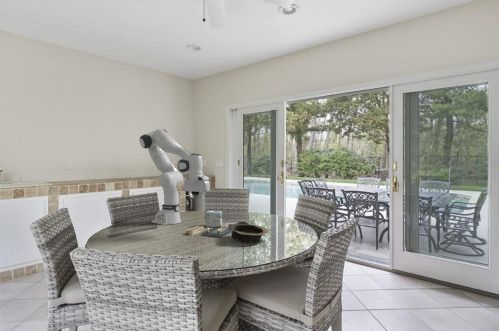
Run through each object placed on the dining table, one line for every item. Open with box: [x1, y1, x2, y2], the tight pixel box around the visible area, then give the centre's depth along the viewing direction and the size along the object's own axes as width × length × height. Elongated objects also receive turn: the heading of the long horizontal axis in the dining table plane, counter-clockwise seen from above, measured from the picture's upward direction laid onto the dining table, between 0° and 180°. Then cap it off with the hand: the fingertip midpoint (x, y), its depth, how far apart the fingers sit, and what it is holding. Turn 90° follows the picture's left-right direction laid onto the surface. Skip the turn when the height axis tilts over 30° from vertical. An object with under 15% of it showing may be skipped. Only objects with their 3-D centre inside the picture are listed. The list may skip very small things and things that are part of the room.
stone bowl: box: [227, 221, 269, 244], centre depth 178 cm, size 25×25×9 cm
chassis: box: [201, 223, 233, 239], centre depth 194 cm, size 14×21×4 cm, turn 156°
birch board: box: [185, 225, 205, 236], centre depth 195 cm, size 5×13×3 cm, turn 156°
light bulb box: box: [205, 210, 223, 228], centre depth 213 cm, size 11×7×11 cm, turn 84°
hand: (196, 198), depth 195 cm, fingers open, 8 cm apart
